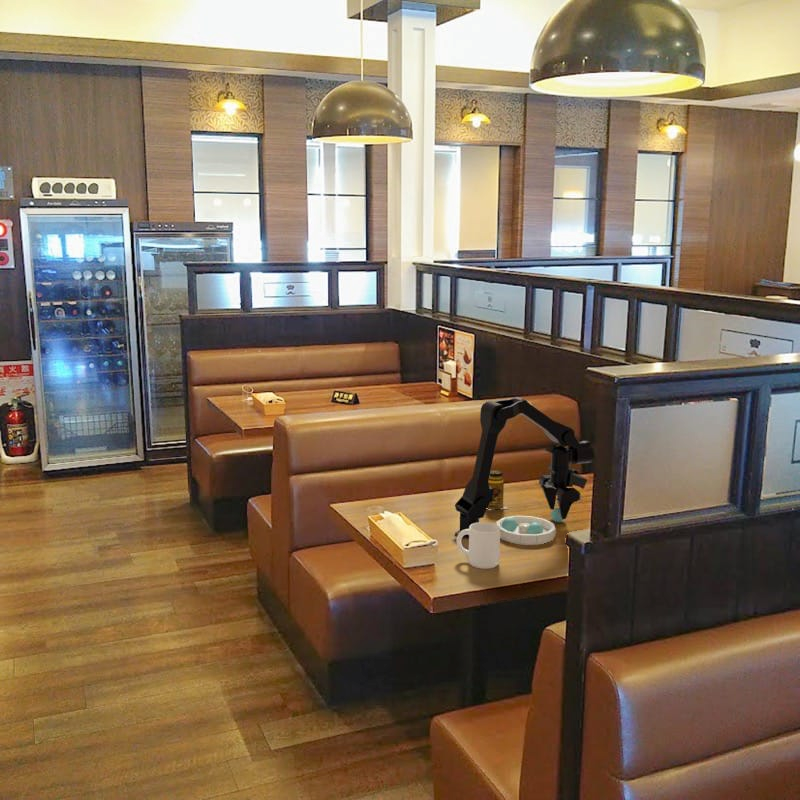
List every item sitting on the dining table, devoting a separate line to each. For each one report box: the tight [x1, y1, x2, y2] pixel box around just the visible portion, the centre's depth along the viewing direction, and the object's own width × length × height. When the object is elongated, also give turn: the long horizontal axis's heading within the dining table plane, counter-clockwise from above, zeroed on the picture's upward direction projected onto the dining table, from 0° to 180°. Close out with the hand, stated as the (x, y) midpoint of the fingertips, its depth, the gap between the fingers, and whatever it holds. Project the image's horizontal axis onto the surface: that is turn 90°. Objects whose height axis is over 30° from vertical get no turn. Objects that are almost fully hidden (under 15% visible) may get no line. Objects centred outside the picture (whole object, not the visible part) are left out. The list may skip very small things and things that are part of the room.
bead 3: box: [550, 507, 565, 523], centre depth 262 cm, size 4×4×4 cm
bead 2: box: [528, 523, 543, 534], centre depth 246 cm, size 4×4×4 cm
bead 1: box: [502, 516, 517, 532], centre depth 250 cm, size 4×4×4 cm
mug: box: [456, 521, 501, 570], centre depth 228 cm, size 12×8×10 cm
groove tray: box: [495, 515, 557, 546], centre depth 250 cm, size 17×17×3 cm
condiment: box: [487, 469, 509, 512], centre depth 275 cm, size 7×8×12 cm
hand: (557, 514), depth 262 cm, fingers open, 9 cm apart
